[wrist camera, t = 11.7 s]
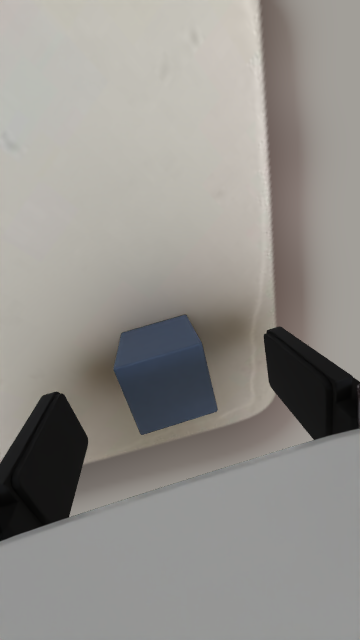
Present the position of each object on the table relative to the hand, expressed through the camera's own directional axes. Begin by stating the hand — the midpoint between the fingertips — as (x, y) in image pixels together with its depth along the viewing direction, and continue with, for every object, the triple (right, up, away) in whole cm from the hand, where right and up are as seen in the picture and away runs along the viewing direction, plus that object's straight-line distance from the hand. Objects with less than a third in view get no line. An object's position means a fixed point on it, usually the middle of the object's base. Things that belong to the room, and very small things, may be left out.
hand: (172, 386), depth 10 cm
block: (-1, +1, +4) cm, 4 cm away
